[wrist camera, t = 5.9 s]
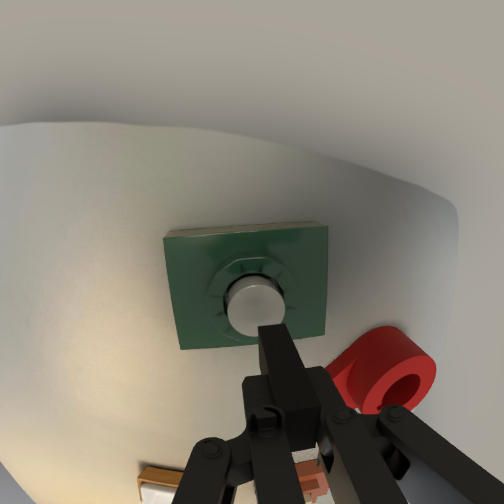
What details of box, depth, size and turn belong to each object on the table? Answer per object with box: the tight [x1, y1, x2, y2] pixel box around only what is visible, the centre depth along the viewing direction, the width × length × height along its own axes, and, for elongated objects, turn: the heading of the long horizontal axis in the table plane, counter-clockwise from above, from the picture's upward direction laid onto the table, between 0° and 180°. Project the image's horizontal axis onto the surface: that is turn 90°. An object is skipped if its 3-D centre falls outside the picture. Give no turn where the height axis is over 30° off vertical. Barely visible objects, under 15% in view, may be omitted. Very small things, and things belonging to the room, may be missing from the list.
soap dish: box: [137, 466, 184, 504], centre depth 30 cm, size 12×10×5 cm
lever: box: [325, 326, 436, 414], centre depth 27 cm, size 18×9×7 cm, turn 119°
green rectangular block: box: [163, 221, 328, 350], centre depth 23 cm, size 13×10×5 cm
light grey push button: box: [227, 276, 285, 337], centre depth 20 cm, size 4×4×2 cm
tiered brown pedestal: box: [295, 459, 329, 503], centre depth 33 cm, size 12×10×5 cm
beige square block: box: [303, 493, 312, 504], centre depth 30 cm, size 4×4×2 cm
